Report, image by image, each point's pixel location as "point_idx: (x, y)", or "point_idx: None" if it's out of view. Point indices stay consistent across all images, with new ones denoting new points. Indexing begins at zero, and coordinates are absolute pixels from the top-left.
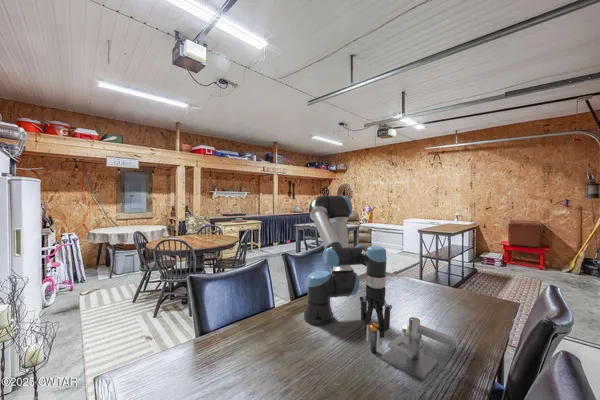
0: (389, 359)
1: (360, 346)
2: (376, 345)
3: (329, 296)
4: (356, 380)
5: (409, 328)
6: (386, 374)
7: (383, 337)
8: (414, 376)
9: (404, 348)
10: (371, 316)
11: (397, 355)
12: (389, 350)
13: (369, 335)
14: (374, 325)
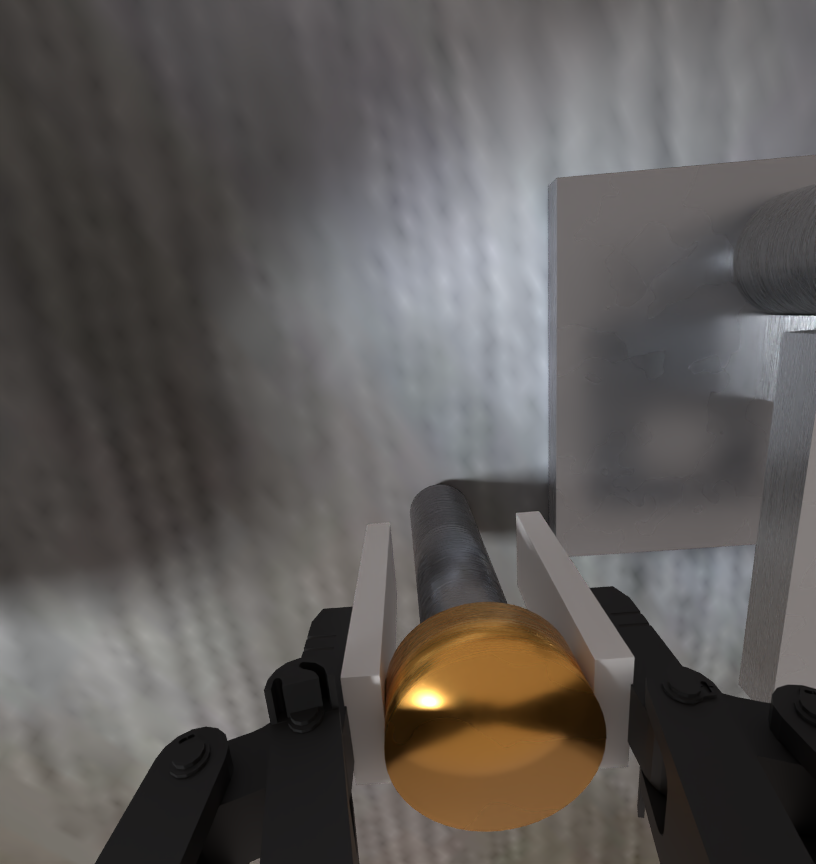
0: (635, 530)
1: (310, 534)
2: (480, 535)
3: None
4: (559, 833)
5: None
6: (677, 656)
7: (614, 598)
8: None
9: (664, 223)
10: (351, 854)
11: (664, 416)
12: (563, 406)
13: (392, 603)
14: (497, 756)
